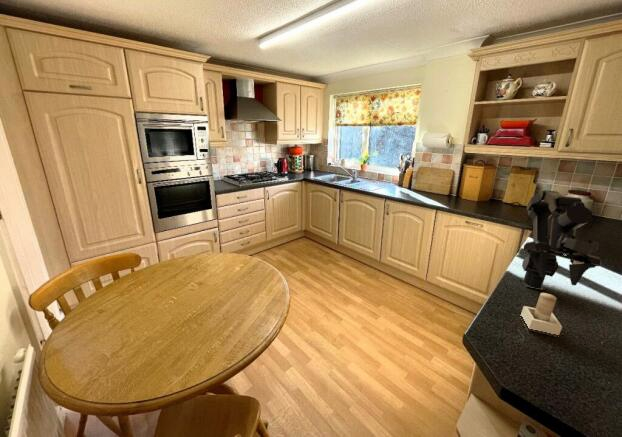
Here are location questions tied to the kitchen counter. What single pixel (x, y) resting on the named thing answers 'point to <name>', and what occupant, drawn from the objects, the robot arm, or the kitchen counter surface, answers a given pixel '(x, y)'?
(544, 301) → the wick dowel
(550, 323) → the cream square tray
